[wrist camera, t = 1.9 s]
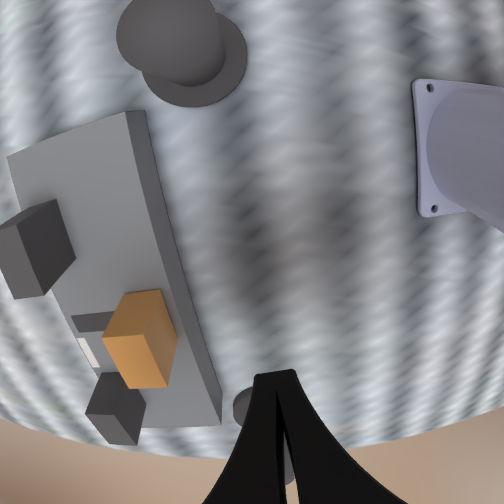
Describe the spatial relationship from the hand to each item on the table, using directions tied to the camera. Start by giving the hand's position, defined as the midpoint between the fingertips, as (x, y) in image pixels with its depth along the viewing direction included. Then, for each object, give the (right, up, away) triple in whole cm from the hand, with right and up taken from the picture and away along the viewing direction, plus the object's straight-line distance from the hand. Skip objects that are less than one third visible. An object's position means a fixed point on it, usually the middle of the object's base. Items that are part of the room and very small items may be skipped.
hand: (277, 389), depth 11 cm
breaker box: (-8, +2, +8) cm, 12 cm away
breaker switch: (-6, +2, +5) cm, 8 cm away
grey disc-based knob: (-4, +14, +3) cm, 15 cm away
